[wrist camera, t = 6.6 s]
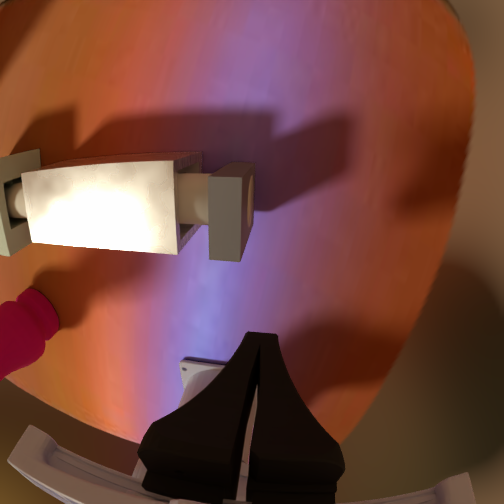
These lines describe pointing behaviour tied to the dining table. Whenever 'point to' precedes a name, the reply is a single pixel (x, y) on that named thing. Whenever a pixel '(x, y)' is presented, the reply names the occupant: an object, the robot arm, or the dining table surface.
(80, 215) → the sleeve
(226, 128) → the dining table surface
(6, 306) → the pepper mill
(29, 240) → the socket
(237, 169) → the tube
